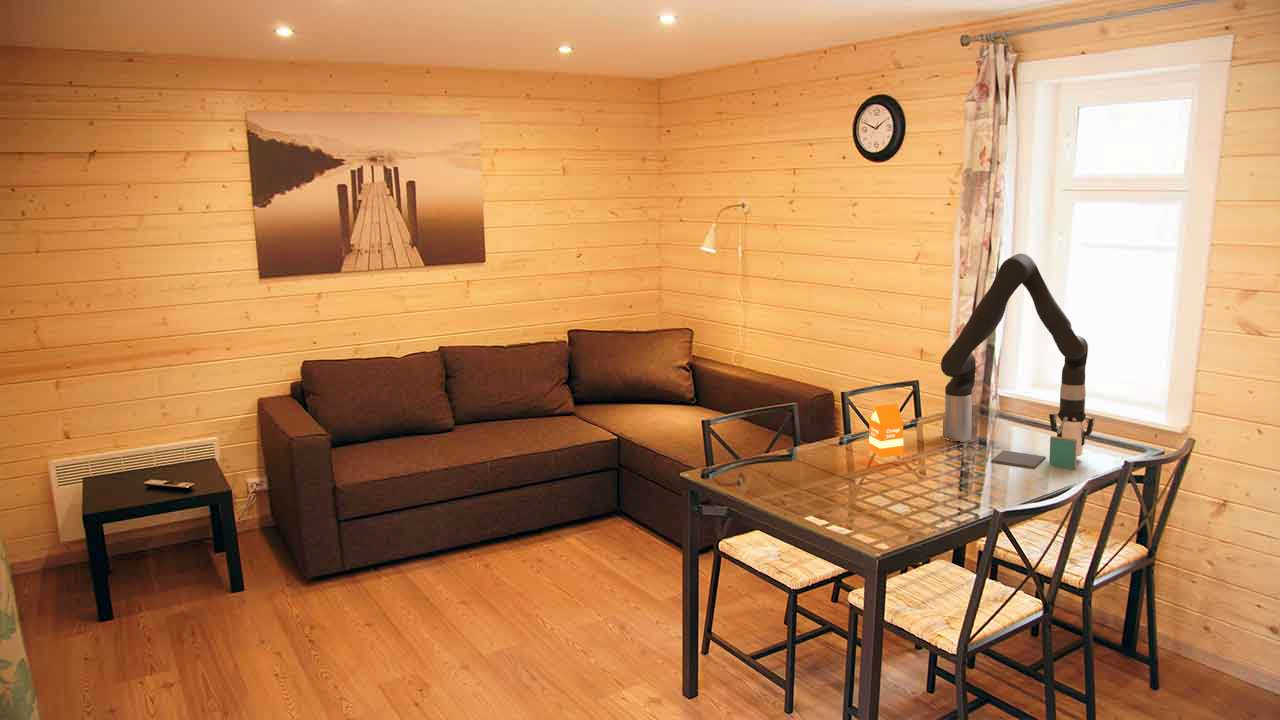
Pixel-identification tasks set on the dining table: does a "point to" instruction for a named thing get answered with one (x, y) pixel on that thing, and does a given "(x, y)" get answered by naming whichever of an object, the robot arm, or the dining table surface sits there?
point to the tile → (1063, 452)
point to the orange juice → (886, 431)
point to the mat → (1019, 459)
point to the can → (1074, 433)
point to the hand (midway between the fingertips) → (1070, 445)
